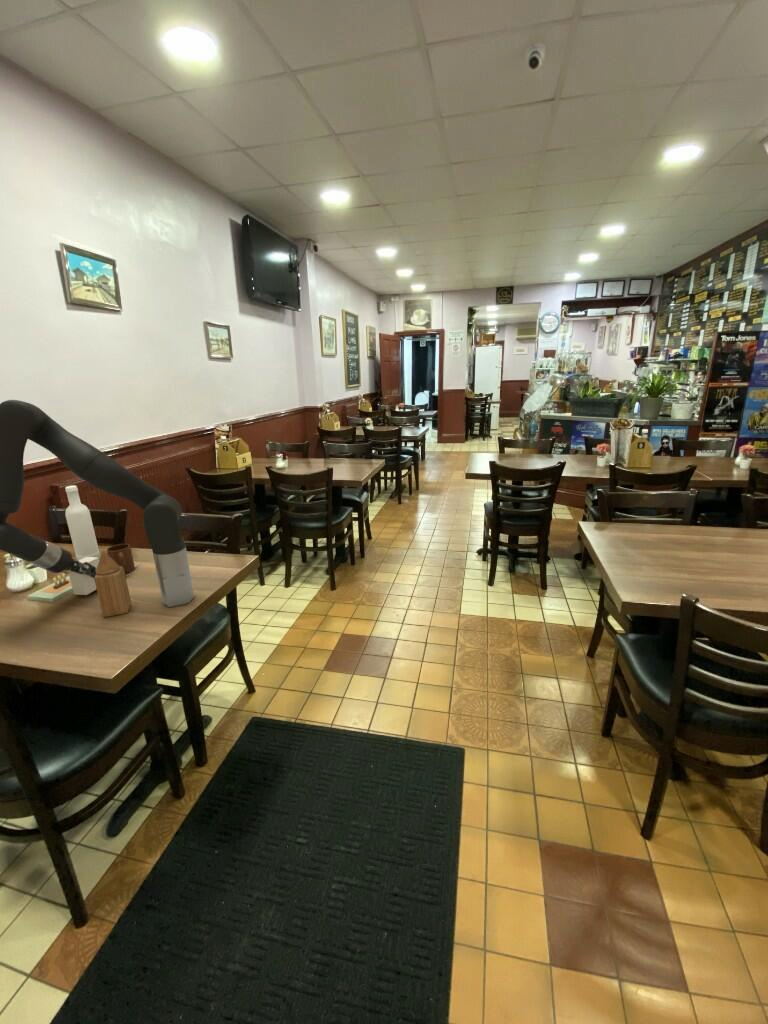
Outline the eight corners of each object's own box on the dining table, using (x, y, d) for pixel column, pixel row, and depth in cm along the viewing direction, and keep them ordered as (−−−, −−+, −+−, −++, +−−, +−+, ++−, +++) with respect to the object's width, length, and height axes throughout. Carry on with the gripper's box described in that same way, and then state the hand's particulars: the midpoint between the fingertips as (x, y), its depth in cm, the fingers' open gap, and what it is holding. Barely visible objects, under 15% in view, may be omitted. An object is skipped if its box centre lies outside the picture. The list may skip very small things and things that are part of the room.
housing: (93, 583, 148) (86, 556, 145) (105, 584, 147) (98, 557, 144) (74, 594, 141) (66, 566, 138) (86, 595, 140) (78, 566, 137)
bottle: (104, 558, 172) (87, 485, 163) (83, 565, 166) (64, 490, 157) (94, 554, 176) (77, 483, 168) (73, 561, 170) (54, 487, 161)
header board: (71, 577, 155) (67, 565, 154) (94, 579, 153) (91, 566, 152) (27, 599, 141) (23, 585, 139) (52, 601, 139) (48, 587, 137)
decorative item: (108, 607, 134) (93, 547, 128) (132, 603, 136) (118, 544, 130) (103, 618, 128) (87, 555, 122) (128, 613, 130) (114, 552, 124)
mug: (138, 575, 156) (133, 551, 153) (114, 581, 152) (108, 556, 149) (133, 564, 165) (128, 542, 162) (110, 570, 161) (105, 546, 158)
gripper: (74, 546, 130) (114, 566, 145) (35, 544, 133) (78, 563, 148) (62, 569, 127) (105, 587, 142) (23, 567, 130) (69, 585, 145)
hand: (91, 575), depth 145 cm, fingers closed on housing, 4 cm apart
